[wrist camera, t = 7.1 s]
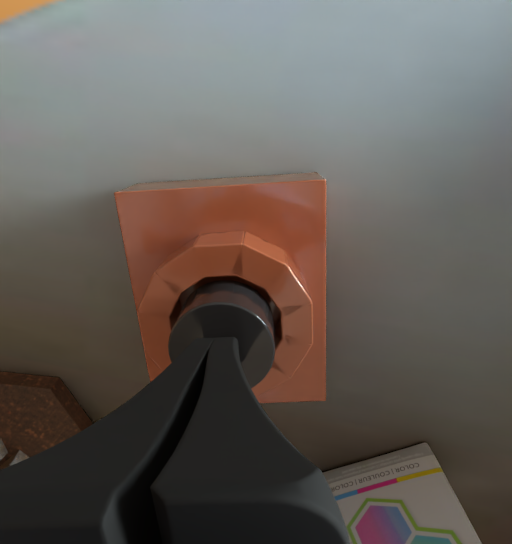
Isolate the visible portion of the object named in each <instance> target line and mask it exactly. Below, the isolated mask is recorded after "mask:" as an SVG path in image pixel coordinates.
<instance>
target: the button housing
mask: <svg viewBox="0 0 512 544" xmlns="http://www.w3.org/2000/svg"><path fill="white" fill-rule="evenodd" d="M114 196H115V201H116V206H117V212H118V217H119V222H120V227H121V232H122V238H123V243H124V248H125V253H126V258H127V264H128V269H129V274H130V279H131V284H132V290H133V295H134V300H135V305H136V310H137V316H138V321H139V326H140V331H141V336H142V342H143V347H144V352H145V357H146V362H147V368H148V373H149V378H150V382H151V381H153V380H154V379H155V378H156V377H157V376H158V375H159V374H160V373H162V372H163V371H164V370H165V369H166V368H167V367H168V366H169V365H170V364H171V360H170V357H169V352H168V340H169V335H170V333H171V330H172V328H173V326H174V323H175V321H176V319H177V317H178V315H179V313H180V311H181V309H182V307H183V304H184V303H185V301H186V299H187V298H188V297H189V295H190V294H191V293H192V292H193V291H195V290H196V289H197V288H199V287H200V286H202V285H204V284H207V283H209V282H213V281H218V280H232V281H237V282H241V283H244V284H246V285H249V286H250V287H252V288H254V289H255V290H257V291H258V292H259V293H260V294H261V295H262V296H263V297H264V298H265V299H266V301H267V302H268V304H269V306H270V308H271V310H272V313H273V318H274V334H275V357H274V362H273V365H272V367H271V369H270V371H269V372H268V374H267V375H266V377H265V378H264V379H263V380H262V381H261V382H260V383H259V384H257V385H256V386H254V387H253V388H251V389H252V391H253V393H254V395H255V396H256V398H257V400H258V402H259V403H279V402H307V401H326V179H324V178H323V177H322V176H321V175H319V174H318V173H317V172H311V173H295V174H279V175H263V176H247V177H231V178H215V179H199V180H183V181H167V182H151V183H137V184H134V185H132V186H129V187H127V188H124V189H122V190H119V191H117V192H115V193H114Z"/></svg>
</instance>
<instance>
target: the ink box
mask: <svg viewBox="0 0 512 544" xmlns="http://www.w3.org/2000/svg"><path fill="white" fill-rule="evenodd" d="M323 475H324V477H325V479H326V481H327V483H328V485H329V487H330V489H331V491H332V493H333V495H334V497H335V500H336V502H337V504H338V506H339V509H340V511H341V514H342V517H343V520H344V522H345V526H346V529H347V532H348V536H349V540H350V544H482V543H481V541H480V539H479V537H478V535H477V533H476V532H475V530H474V528H473V526H472V524H471V522H470V520H469V519H468V517H467V515H466V513H465V511H464V509H463V507H462V505H461V504H460V502H459V500H458V498H457V496H456V494H455V492H454V491H453V489H452V487H451V485H450V483H449V481H448V479H447V477H446V476H445V474H444V472H443V471H442V468H441V466H440V464H439V462H438V461H437V459H436V457H435V455H434V454H433V452H432V450H431V448H430V447H429V445H428V444H427V443H422V444H418V445H415V446H412V447H408V448H405V449H402V450H398V451H395V452H391V453H388V454H385V455H381V456H378V457H375V458H371V459H368V460H364V461H361V462H358V463H354V464H351V465H347V466H344V467H341V468H337V469H333V470H330V471H327V472H323Z"/></svg>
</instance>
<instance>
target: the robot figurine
mask: <svg viewBox="0 0 512 544" xmlns="http://www.w3.org/2000/svg"><path fill="white" fill-rule="evenodd" d="M92 424H93V423H92V421H91V420H90V419H89V417H88V416H87V415H86V413H85V412H84V411H83V409H82V408H81V406H80V405H79V404H78V402H77V401H76V400H75V398H74V397H73V396H72V394H71V393H70V391H69V390H68V389H67V387H66V386H65V385H64V383H63V382H62V380H61V379H60V378H59V377H49V376H39V375H29V374H20V373H10V372H0V470H2V469H4V468H6V467H9V466H11V465H13V464H16V463H18V462H20V461H23V460H25V459H28V458H30V457H32V456H34V455H36V454H38V453H41V452H43V451H45V450H47V449H49V448H51V447H53V446H55V445H57V444H59V443H61V442H62V441H64V440H66V439H68V438H70V437H72V436H74V435H75V434H77V433H79V432H81V431H82V430H84V429H86V428H87V427H89V426H91V425H92Z"/></svg>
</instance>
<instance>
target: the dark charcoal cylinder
mask: <svg viewBox="0 0 512 544" xmlns="http://www.w3.org/2000/svg"><path fill="white" fill-rule="evenodd" d="M219 337H235V338H236V339H237V340H238V346H239V357H240V363H241V366H242V368H243V371H244V374H245V376H246V379H247V381H248V383H249V385H250V387H251V388H253V387H254V386H256V385H257V384H259V383H260V382H261V381H262V380H263V379H264V378H265V377H266V375H267V374H268V372H269V371H270V369H271V367H272V365H273V362H274V357H275V334H274V318H273V313H272V310H271V308H270V306H269V304H268V302H267V301H266V299H265V298H264V297H263V296H262V295H261V294H260V293H259V292H258V291H257V290H255V289H254V288H252V287H250V286H249V285H246V284H244V283H241V282H237V281H232V280H218V281H213V282H209V283H207V284H204V285H202V286H200V287H199V288H197V289H196V290H195V291H193V292H192V293H191V294H190V295H189V297H188V298H187V299H186V301H185V303H184V304H183V307H182V309H181V311H180V313H179V315H178V317H177V319H176V321H175V323H174V326H173V328H172V330H171V333H170V335H169V340H168V352H169V357H170V360H171V363H172V362H173V361H174V360H175V359H176V358H177V357H178V356H179V355H180V354H181V353H182V352H183V351H184V350H185V349H186V348H187V347H188V346H189V345H190V344H191V342H192V341H194V340H195V339H197V338H219Z"/></svg>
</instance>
